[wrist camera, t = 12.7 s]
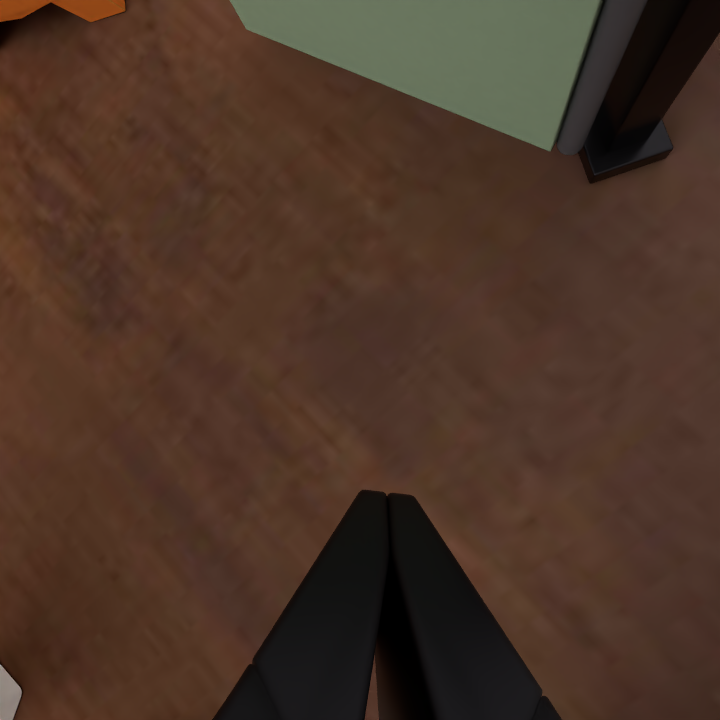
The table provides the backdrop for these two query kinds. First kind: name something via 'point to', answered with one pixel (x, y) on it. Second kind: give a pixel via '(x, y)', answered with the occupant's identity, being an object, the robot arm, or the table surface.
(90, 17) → the alarm clock
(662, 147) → the door post
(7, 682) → the perfume bottle
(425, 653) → the robot arm
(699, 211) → the table surface
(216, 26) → the table surface
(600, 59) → the green flat slab
